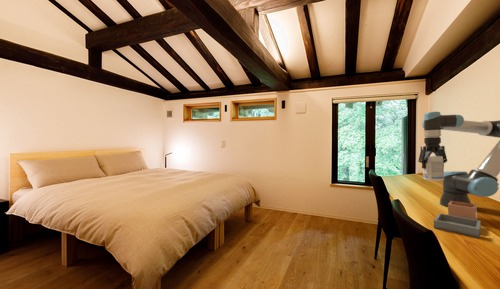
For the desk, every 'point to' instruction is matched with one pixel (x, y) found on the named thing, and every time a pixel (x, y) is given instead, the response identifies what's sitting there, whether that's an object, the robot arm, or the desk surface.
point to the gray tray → (458, 225)
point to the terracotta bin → (462, 209)
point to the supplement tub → (435, 169)
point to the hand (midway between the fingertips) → (433, 173)
